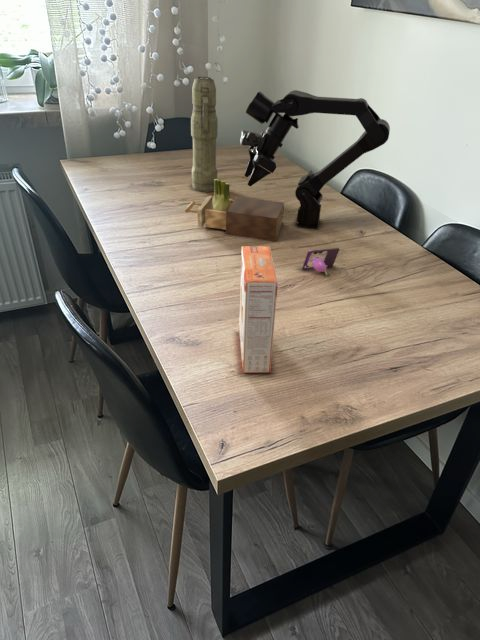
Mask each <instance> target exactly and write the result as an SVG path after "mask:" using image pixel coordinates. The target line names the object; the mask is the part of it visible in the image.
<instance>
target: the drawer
mask: <svg viewBox="0 0 480 640" xmlns="http://www.w3.org/2000/svg"><path fill="white" fill-rule="evenodd" d="M233 201H234V199H231V198H229V207H230V205H231V204H232V202H233ZM212 205H213V195H208V196H207V197H206V199H205V200H204V201H203V202H202V203H201V202H195V201H194V200H192V201H191V202H190V203H189V205H187V207H186V208H185V209H184V212H185V213H187V214H188V213H193V214H197V227H198V228H203V227H204V225H205V228H212V229H218V230H225V231H226V212H225V211H217V210H212ZM194 206H199V207H198V208H197V209H193V207H194Z"/></svg>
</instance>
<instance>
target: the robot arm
mask: <svg viewBox="0 0 480 640" xmlns="http://www.w3.org/2000/svg"><path fill="white" fill-rule="evenodd" d="M245 113H246V114H247V115H248V116H249V117H251V118H252V119H254V120H255V121H256V122H257V123H259V124H260V125H263V124H265V123H266V124H268V123H269V124H268V126H267V127H266V129H264V130H262V131H261V132H260V133H257V132H254V131H249V130H244V129H242V130H241V134H240V139H239V142H240V145H241V146H245V147H246V146H248V149H247V152H248V156H249V158H248V161H247V166H246V168H245V171H244V175H243V176H244V177H245V178H249V179H248V181H247V186H248V187H252V186H253V185H255V184H256V183H258V182H259V181H261V180H262V179H263V178H266V177H267V176H269V175H271V174H273V173H275V171H276V169H277V164H276V161H275V158H276V156H275V154H276V153H277V151H278V149H279V148H282V146H283V142H284V140H285V138H286V137H287V135H288V133H289V132H290V130H291V128H292V127H293V128H294V129H299V128H300V125H299V118H298V116H305V115H309V114H325V115H326V114H327V115H341V116H342V115H344V116H354V117H356V118H357V120H358V121H359V123H360V125H361V127H362V128H363V129H364V131H363V133H362V134H361V135H360V136H359V138H358V139H357V140H356V141H354V142H353V144H351V145H350V146H348V147H347V148H346V149H345V150H343V152H341V153H340V154H339V155H338V156H336V157H335V158H333V160H332V161H330V162H329V163H328V164H327V165H325V166H324V167H323V168H321V169H320V170H319V171H316V172H313V170H312V169H310V170H309V172H307V174H306V175H304V176H301V177H300V179H299V181H298V183H297V187H296V189H295V192H294V194H295V198H296V199H297V201H299V204H300V205H299V207H298V208H297V215H296V223H297V227H302V228H308V229H315V230H316V229H319V227H320V226H319V225H320V222H321V220H320V218H321V210H322V204H321V202H322V200H323V196H324V195H323V194H322V193H321V190H322V189H323V187H324V186H325V185H326V184H327V183H328V182H330V181H331V180H332V179H333V178H335V177H337V176H338V174H340V173H341V172H343V171H344V170H345V169H346V168H348V167H349V166H350V165H351V164H353V163H354V162H355V161H356V160H358V159H359V158H361V157H362V156H363V155H364V154H366V153H369V152H372V151H374V150H376V149H378V148H379V147H381V146H383V145H385V144H386V143H387V142H388V140H389V137H390V132H391V127H390V124H389V122H388V121H387V120H385V119H384V118H383V119H382V118H381V117H380V115H378V114H377V111H374V109H373V108H372V107H371V105H370V104H369V103H368V101H367V100H366V99H365V98H363V97H359V98H347V97H329V96H317V95H314V94H311V93H308V92H305V91H301V90H297V89H293V90H291V91H289V92H288V93H287V94H286V95H285V96H284V97H283V98H281V99H278V100H277V101H275V102H274V101H273V100H272V99H270V98H269V97H268V96H266V95H265V94H264V92H262V91H260V90H259V91H258V92H257V93H256V94H255V96H254V97H253V99H252V100H251V101H250V102H249V104H248V106H247V108H246V110H245ZM282 114H283V115H282ZM273 115H274V116H273ZM294 117H296V118H294ZM271 118H272V119H271ZM270 120H271V121H270Z"/></svg>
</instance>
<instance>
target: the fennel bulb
mask: <svg viewBox="0 0 480 640" xmlns="http://www.w3.org/2000/svg"><path fill="white" fill-rule="evenodd" d="M230 185H231V184H230V183H229V182H226V181H225V180H221V179H219V178H217V179H214V191H213V197H212V210H217V211H225V212H226V211H227V210H228V208H229V199H230Z"/></svg>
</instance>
